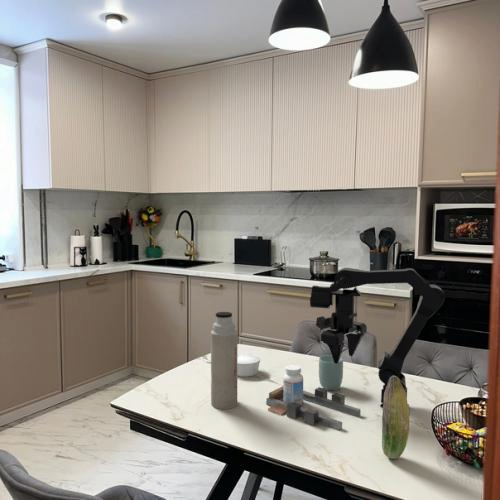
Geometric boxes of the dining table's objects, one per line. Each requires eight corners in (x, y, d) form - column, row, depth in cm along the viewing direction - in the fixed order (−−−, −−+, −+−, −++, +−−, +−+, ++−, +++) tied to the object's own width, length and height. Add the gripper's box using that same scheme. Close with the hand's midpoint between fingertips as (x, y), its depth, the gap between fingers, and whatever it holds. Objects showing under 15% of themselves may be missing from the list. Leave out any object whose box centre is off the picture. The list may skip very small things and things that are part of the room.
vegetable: (408, 455, 109) (411, 374, 107) (406, 469, 103) (409, 383, 102) (382, 450, 112) (385, 371, 110) (379, 463, 106) (381, 379, 104)
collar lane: (365, 411, 133) (365, 400, 133) (333, 434, 119) (333, 421, 119) (294, 389, 149) (294, 379, 149) (259, 407, 136) (259, 395, 135)
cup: (335, 394, 145) (336, 364, 144) (314, 388, 150) (314, 359, 149) (346, 387, 151) (347, 357, 151) (325, 381, 156) (326, 353, 155)
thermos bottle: (239, 399, 141) (240, 310, 139) (233, 410, 134) (233, 316, 131) (215, 397, 143) (214, 309, 141) (207, 407, 135) (207, 315, 133)
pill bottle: (302, 399, 141) (303, 364, 140) (303, 407, 135) (303, 371, 134) (283, 398, 142) (283, 363, 141) (282, 407, 136) (283, 370, 135)
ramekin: (224, 370, 168) (224, 356, 167) (252, 365, 172) (252, 352, 172) (236, 380, 157) (236, 365, 157) (265, 375, 162) (265, 361, 162)
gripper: (336, 301, 151) (336, 347, 152) (305, 310, 137) (304, 361, 138) (368, 306, 144) (366, 354, 145) (338, 316, 129) (337, 369, 131)
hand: (343, 359), depth 140 cm, fingers open, 9 cm apart
